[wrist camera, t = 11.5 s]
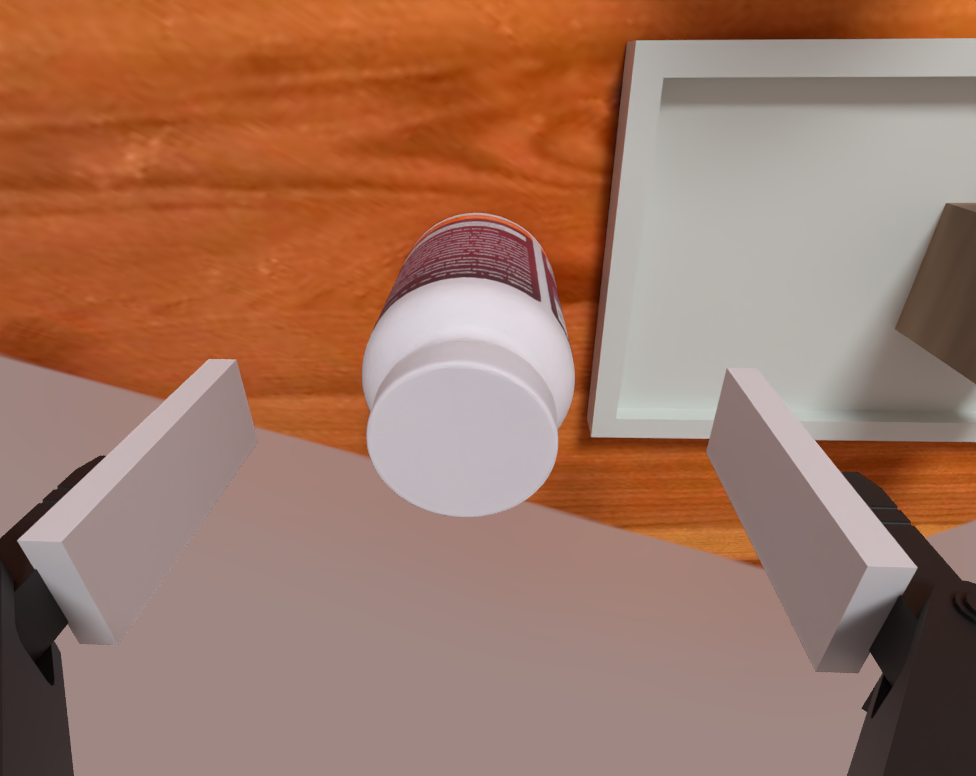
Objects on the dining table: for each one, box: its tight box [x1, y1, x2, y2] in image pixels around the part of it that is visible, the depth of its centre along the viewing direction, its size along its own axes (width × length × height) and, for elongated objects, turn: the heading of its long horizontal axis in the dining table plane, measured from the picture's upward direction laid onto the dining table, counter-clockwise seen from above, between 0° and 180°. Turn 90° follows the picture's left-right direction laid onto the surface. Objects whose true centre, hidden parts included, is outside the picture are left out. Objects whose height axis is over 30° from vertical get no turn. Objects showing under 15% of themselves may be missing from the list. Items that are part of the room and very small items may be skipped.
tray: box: [587, 38, 976, 442], centre depth 21 cm, size 20×15×2 cm
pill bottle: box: [362, 213, 575, 517], centre depth 18 cm, size 6×6×11 cm
